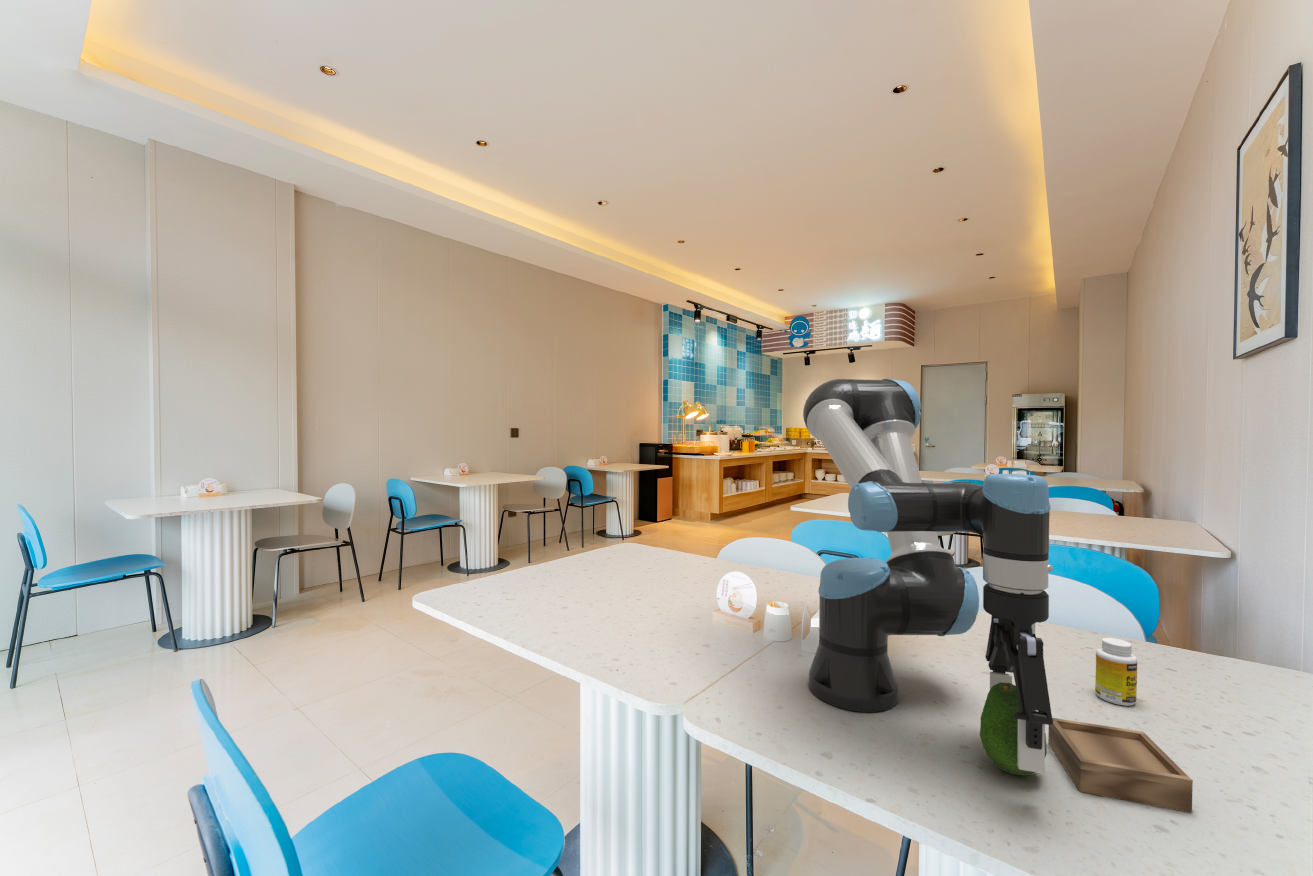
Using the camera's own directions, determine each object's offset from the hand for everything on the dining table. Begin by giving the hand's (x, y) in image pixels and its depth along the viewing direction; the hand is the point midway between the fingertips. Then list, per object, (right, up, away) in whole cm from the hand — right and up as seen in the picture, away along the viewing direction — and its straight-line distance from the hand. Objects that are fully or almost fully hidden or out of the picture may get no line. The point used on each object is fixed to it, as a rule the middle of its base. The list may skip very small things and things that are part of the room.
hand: (1014, 741), depth 74 cm
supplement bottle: (+32, -5, +21) cm, 39 cm away
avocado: (0, -5, +1) cm, 5 cm away
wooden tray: (+14, -5, 0) cm, 14 cm away
